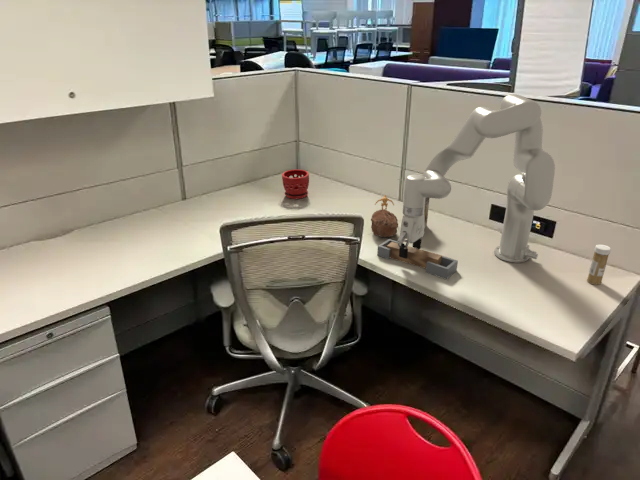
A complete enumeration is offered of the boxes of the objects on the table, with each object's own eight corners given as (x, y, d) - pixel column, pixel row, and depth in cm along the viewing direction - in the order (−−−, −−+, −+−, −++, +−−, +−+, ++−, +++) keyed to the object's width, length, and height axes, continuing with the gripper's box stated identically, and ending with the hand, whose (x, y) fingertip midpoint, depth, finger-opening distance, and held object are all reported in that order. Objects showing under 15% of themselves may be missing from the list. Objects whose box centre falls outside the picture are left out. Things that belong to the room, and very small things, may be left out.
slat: (440, 267, 178) (442, 255, 176) (436, 272, 175) (437, 259, 173) (391, 253, 189) (391, 241, 186) (386, 257, 186) (387, 245, 183)
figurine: (392, 217, 219) (394, 192, 214) (393, 223, 214) (395, 197, 209) (373, 217, 220) (375, 191, 215) (374, 222, 214) (375, 196, 209)
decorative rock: (367, 228, 209) (368, 206, 205) (393, 227, 210) (395, 205, 206) (373, 241, 198) (374, 218, 193) (401, 240, 198) (402, 217, 194)
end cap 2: (456, 270, 176) (457, 260, 174) (446, 279, 170) (447, 269, 168) (436, 263, 180) (437, 254, 179) (425, 272, 175) (426, 262, 173)
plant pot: (282, 192, 249) (281, 169, 244) (308, 191, 251) (307, 168, 245) (283, 201, 238) (282, 178, 232) (310, 200, 239) (310, 176, 234)
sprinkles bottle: (602, 286, 165) (612, 250, 160) (586, 283, 167) (596, 248, 161) (600, 280, 169) (610, 245, 163) (585, 277, 171) (595, 242, 165)
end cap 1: (399, 251, 189) (400, 242, 187) (388, 259, 184) (389, 249, 182) (388, 248, 192) (389, 238, 190) (377, 255, 186) (377, 246, 185)
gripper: (410, 219, 166) (406, 264, 173) (434, 205, 178) (430, 247, 185) (391, 214, 170) (388, 258, 177) (416, 200, 182) (412, 241, 189)
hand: (409, 252), depth 181 cm, fingers open, 9 cm apart
